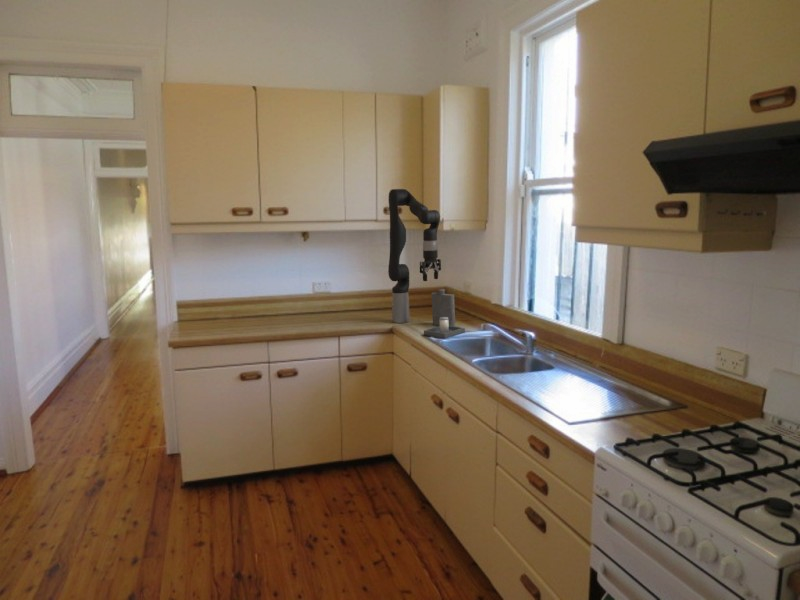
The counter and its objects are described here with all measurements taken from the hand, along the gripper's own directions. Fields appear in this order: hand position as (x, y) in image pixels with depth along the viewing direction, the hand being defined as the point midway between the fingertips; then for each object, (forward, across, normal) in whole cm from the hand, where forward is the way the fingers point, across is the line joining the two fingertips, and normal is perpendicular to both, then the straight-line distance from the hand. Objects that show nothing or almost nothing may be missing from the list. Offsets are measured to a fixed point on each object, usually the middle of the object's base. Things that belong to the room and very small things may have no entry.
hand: (430, 280), depth 298 cm
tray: (+27, +3, +12) cm, 29 cm away
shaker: (+26, +3, +12) cm, 29 cm away
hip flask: (+27, -13, -2) cm, 30 cm away
